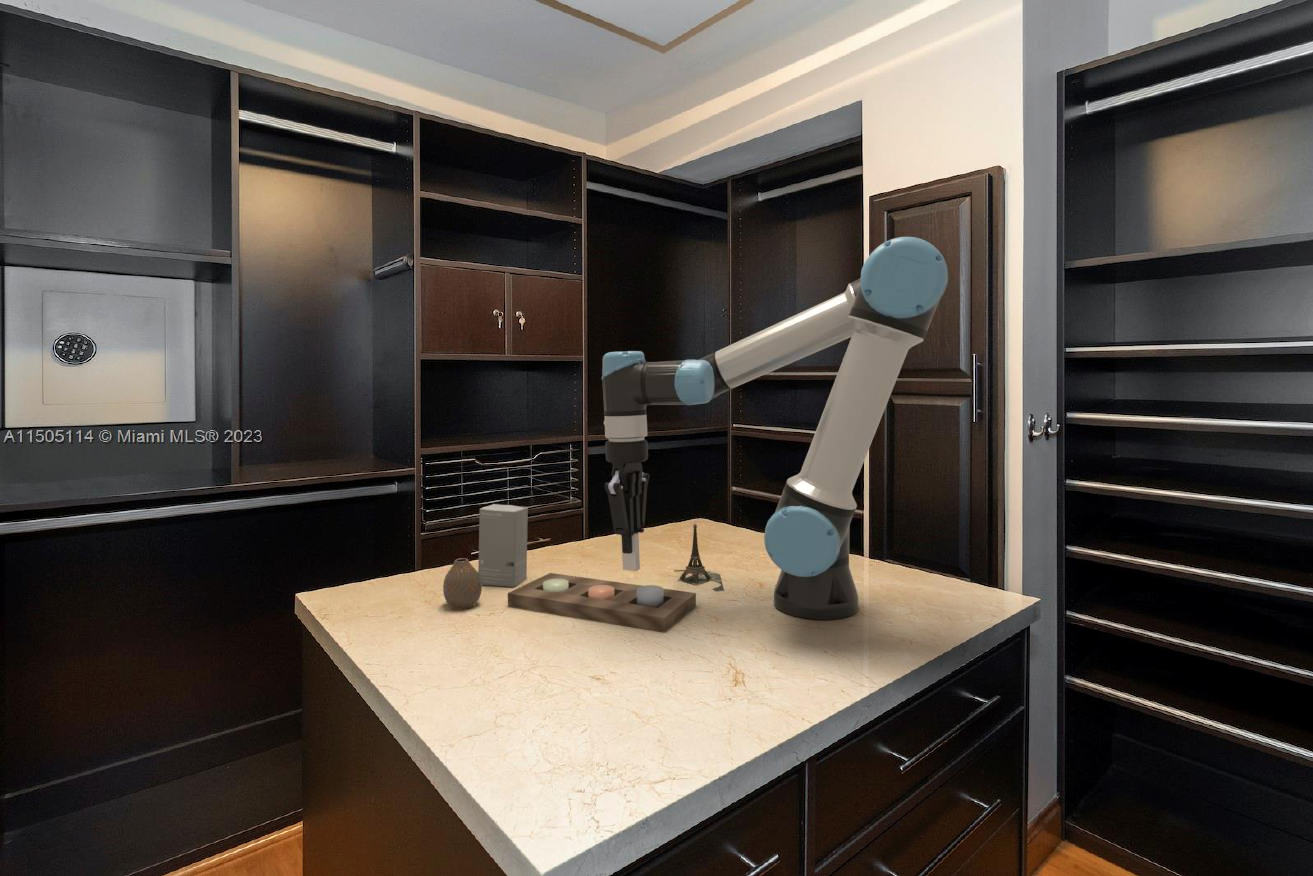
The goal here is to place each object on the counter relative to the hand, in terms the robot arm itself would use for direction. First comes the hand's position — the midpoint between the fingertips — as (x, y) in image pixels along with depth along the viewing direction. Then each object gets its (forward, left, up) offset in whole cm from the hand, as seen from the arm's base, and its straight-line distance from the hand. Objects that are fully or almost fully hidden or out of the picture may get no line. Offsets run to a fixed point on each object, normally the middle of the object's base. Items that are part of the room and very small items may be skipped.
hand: (631, 569), depth 125 cm
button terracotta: (+6, 0, -7) cm, 10 cm away
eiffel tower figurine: (-4, -22, -9) cm, 24 cm away
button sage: (+16, 0, -7) cm, 18 cm away
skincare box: (+32, -5, -8) cm, 34 cm away
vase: (+30, +10, -8) cm, 33 cm away
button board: (+6, 0, -8) cm, 10 cm away
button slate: (-4, 0, -6) cm, 7 cm away
